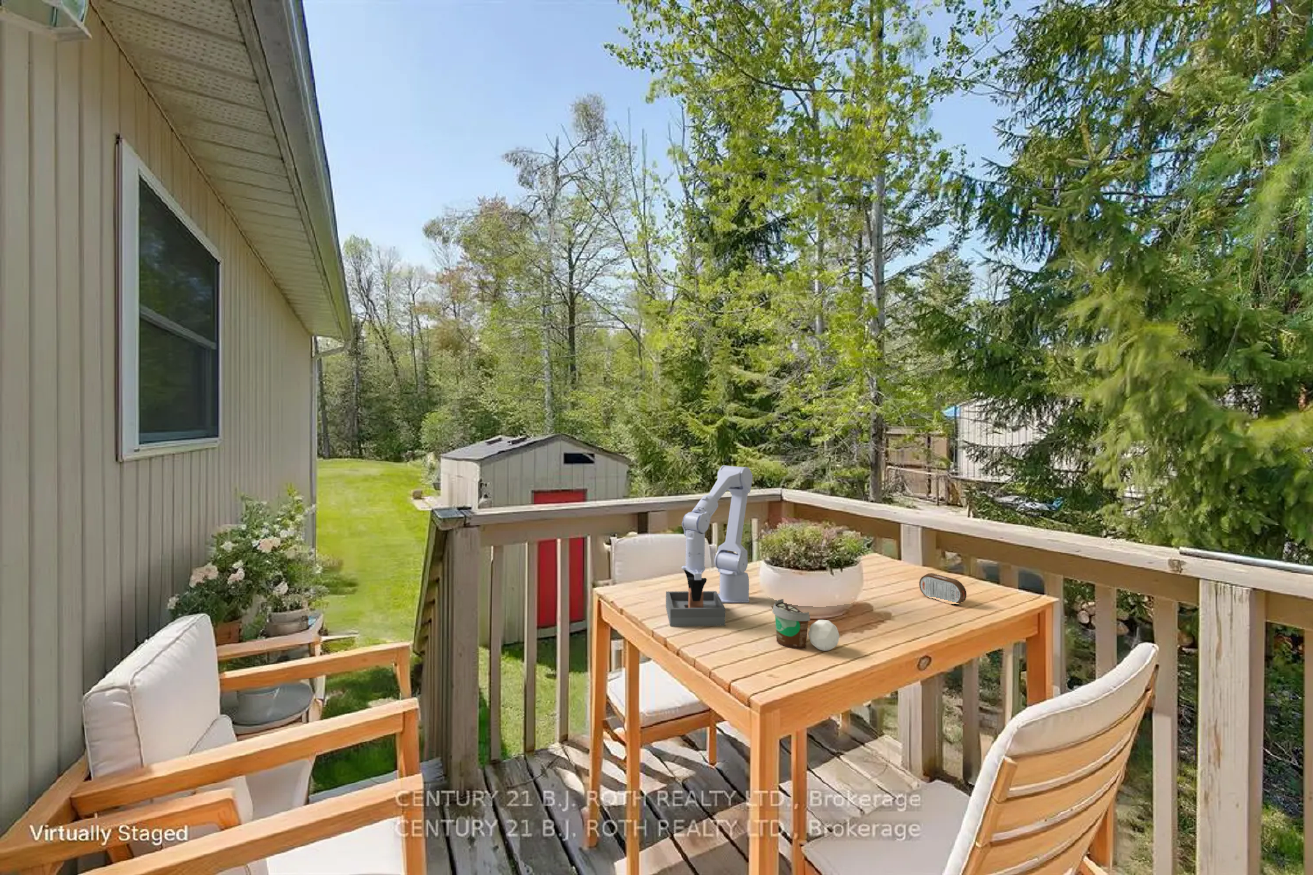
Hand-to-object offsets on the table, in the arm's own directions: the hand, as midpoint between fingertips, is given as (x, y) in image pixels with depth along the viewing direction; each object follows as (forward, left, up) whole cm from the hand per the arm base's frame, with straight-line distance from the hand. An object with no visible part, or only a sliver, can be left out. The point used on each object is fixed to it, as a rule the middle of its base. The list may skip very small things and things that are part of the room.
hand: (694, 596), depth 173 cm
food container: (-22, +21, -6) cm, 31 cm away
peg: (0, 0, -6) cm, 6 cm away
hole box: (0, 0, -6) cm, 6 cm away
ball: (-31, +25, -6) cm, 40 cm away
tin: (-84, -11, -6) cm, 85 cm away
